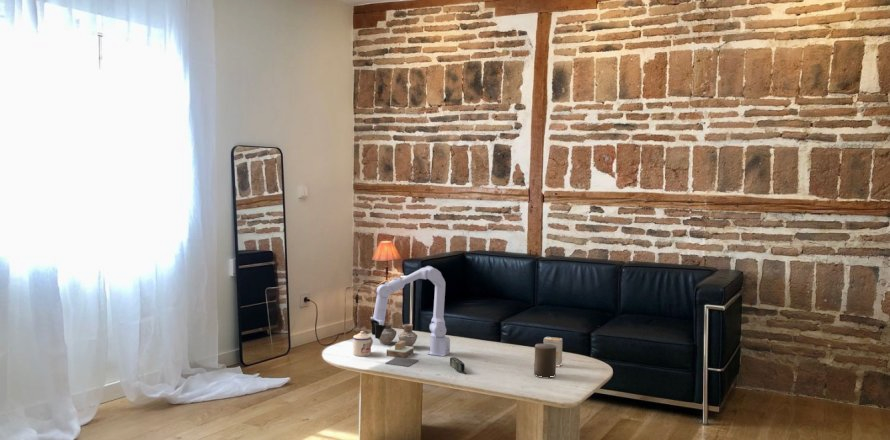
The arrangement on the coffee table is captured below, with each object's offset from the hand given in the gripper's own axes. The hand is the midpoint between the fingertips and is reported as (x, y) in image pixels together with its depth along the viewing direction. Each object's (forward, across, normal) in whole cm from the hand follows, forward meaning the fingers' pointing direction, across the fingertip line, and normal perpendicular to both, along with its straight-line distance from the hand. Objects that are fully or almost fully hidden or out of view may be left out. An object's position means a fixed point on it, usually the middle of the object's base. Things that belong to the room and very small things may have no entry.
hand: (375, 336), depth 363 cm
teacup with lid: (+11, -9, -2) cm, 15 cm away
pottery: (+8, -21, +17) cm, 29 cm away
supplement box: (-2, +34, +79) cm, 86 cm away
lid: (+6, -3, +14) cm, 16 cm away
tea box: (+9, -3, +15) cm, 17 cm away
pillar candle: (-1, +49, +69) cm, 84 cm away
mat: (+9, +11, +12) cm, 19 cm away
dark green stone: (+5, +31, +34) cm, 46 cm away
